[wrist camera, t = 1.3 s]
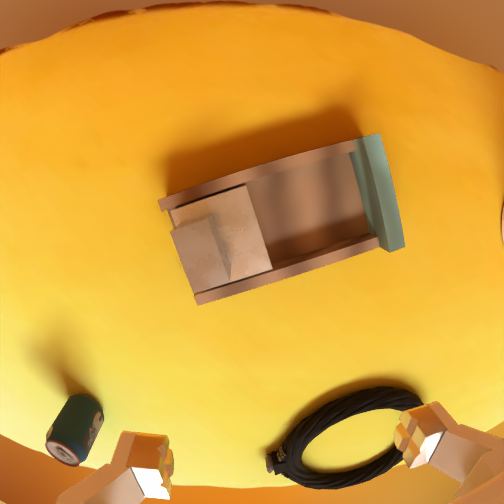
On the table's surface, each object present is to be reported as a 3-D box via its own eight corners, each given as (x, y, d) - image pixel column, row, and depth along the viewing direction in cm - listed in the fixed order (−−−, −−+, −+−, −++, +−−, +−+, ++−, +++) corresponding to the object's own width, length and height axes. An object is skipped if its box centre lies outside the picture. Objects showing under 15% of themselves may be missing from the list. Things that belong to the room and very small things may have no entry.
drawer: (363, 137, 33) (387, 131, 27) (386, 232, 36) (412, 243, 30) (166, 197, 34) (150, 202, 28) (201, 292, 37) (194, 315, 31)
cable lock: (412, 469, 45) (273, 504, 45) (406, 458, 49) (272, 490, 49) (444, 375, 39) (257, 421, 38) (433, 363, 42) (255, 404, 42)
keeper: (245, 184, 32) (246, 187, 26) (270, 262, 35) (277, 283, 28) (175, 208, 33) (159, 217, 26) (202, 283, 35) (194, 309, 28)
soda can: (63, 397, 41) (34, 442, 29) (85, 385, 40) (55, 435, 29) (91, 424, 42) (68, 471, 31) (114, 414, 42) (91, 466, 30)
